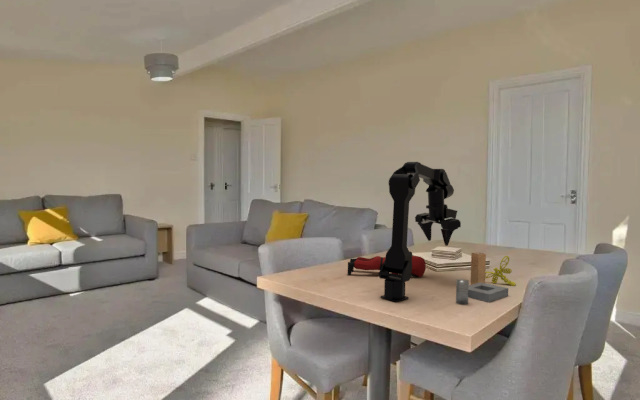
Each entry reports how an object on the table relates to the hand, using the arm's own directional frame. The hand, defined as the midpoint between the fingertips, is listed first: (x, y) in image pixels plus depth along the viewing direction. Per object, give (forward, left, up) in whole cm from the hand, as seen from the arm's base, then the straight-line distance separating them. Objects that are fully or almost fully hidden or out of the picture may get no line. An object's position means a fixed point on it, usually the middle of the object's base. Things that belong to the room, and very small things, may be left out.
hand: (437, 243), depth 163 cm
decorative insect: (+13, -17, -14) cm, 26 cm away
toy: (-9, +17, -15) cm, 24 cm away
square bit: (+2, -15, -14) cm, 21 cm away
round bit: (-19, -23, -14) cm, 33 cm away
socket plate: (-6, -23, -14) cm, 28 cm away
